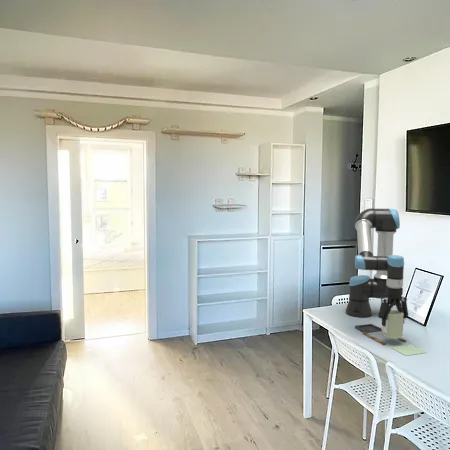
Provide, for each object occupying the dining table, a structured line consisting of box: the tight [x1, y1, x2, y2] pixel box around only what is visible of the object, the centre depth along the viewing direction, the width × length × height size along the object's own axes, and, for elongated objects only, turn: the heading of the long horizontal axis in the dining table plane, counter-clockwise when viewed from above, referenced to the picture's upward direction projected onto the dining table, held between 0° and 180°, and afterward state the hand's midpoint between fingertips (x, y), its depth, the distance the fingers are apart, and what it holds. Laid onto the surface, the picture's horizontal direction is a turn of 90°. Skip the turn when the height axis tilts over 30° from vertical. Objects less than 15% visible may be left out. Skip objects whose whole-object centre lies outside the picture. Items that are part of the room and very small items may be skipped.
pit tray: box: [354, 323, 382, 334], centre depth 217 cm, size 8×11×1 cm
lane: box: [361, 330, 407, 346], centre depth 205 cm, size 16×14×1 cm
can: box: [382, 309, 404, 339], centre depth 198 cm, size 9×9×12 cm
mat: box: [390, 344, 428, 357], centre depth 189 cm, size 10×12×1 cm
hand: (392, 331), depth 198 cm, fingers closed on can, 9 cm apart
